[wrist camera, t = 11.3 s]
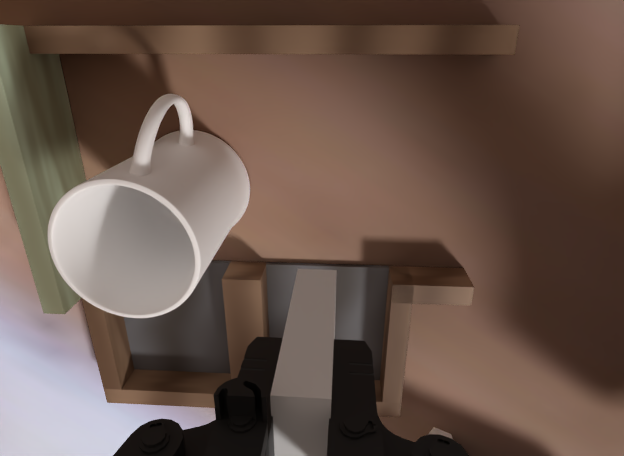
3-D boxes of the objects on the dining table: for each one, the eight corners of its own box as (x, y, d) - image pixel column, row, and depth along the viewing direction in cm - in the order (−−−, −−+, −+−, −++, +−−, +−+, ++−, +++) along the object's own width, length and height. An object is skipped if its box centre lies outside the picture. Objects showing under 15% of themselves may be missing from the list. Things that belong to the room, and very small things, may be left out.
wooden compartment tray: (501, 26, 28) (542, 22, 22) (443, 393, 40) (460, 449, 34) (30, 27, 29) (-42, 23, 24) (112, 378, 41) (77, 429, 36)
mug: (156, 68, 30) (49, 81, 19) (273, 106, 30) (235, 140, 19) (134, 217, 34) (38, 297, 23) (236, 248, 35) (188, 340, 24)
